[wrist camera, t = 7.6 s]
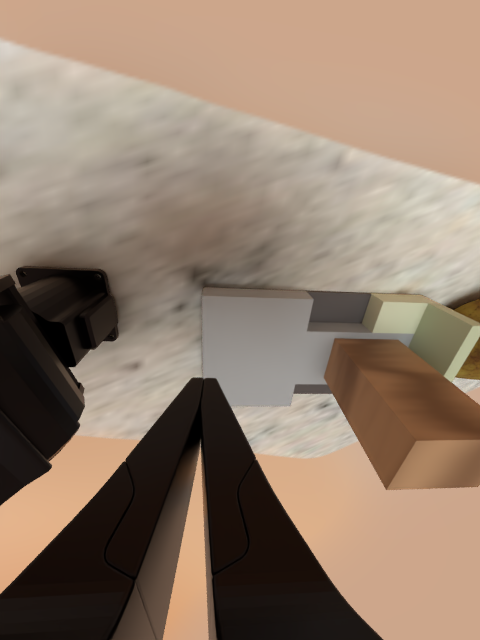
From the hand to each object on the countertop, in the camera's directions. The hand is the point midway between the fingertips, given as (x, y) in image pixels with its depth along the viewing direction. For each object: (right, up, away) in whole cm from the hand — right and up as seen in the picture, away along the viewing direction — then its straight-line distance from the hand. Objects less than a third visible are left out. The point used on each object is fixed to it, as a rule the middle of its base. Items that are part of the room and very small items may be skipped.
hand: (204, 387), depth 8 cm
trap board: (+8, 0, +15) cm, 17 cm away
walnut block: (+13, -1, +14) cm, 19 cm away
